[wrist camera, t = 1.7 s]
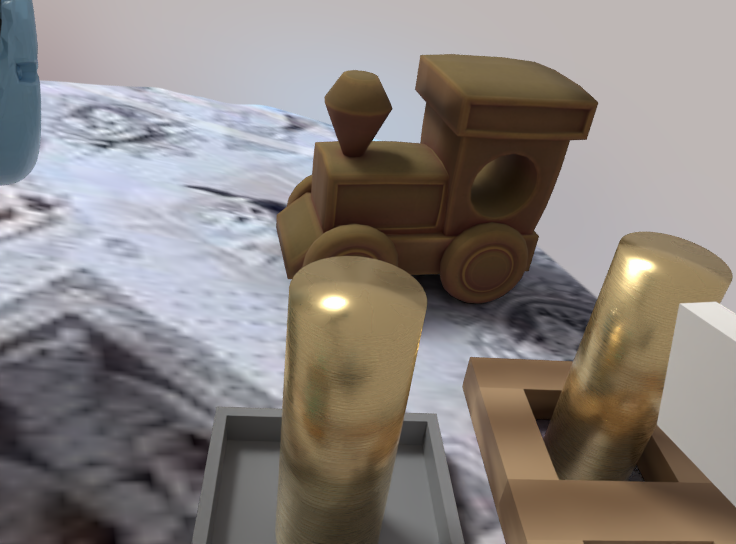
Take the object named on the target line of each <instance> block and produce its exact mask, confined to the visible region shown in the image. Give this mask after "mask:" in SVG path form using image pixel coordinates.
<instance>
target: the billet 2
mask: <svg viewBox="0 0 736 544" xmlns="http://www.w3.org/2000/svg"><path fill="white" fill-rule="evenodd" d="M731 281H732V272H731V270H730V268H729V267H728V266H727V264H726V263H725V262H724V261H723V260H722V259H720V258H719V257H718V256H717V255H715V254H714V253H712V252H710V251H709V250H707V249H705V248H703V247H701V246H699V245H697V244H695V243H693V242H690V241H688V240H685V239H682V238H679V237H675V236H672V235H667V234H662V233H655V232H635V233H630V234H627V235H625V236H624V237H622V239H621V240H620V242H619V245H618V247H617V250H616V252H615V255H614V258H613V260H612V263H611V265H610V268H609V270H608V273H607V276H606V278H605V281H604V283H603V286H602V288H601V291H600V294H599V296H598V299H597V301H596V304H595V307H594V309H593V312H592V314H591V317H590V319H589V322H588V325H587V327H586V330H585V332H584V335H583V338H582V340H581V343H580V345H579V348H578V350H577V353H576V356H575V358H574V361H573V363H572V366H571V369H570V371H569V374H568V376H567V379H566V381H565V384H564V387H563V389H562V392H561V394H560V397H559V400H558V402H557V405H556V407H555V410H554V412H553V415H552V418H551V420H550V423H549V425H548V428H547V431H546V433H545V436H544V438H543V441H544V443H545V446H546V448H547V451H548V454H549V456H550V459H551V461H552V464H553V466H554V469H555V472H556V474H557V477H558V479H559V480H585V481H628V480H629V478H630V476H631V474H632V472H633V470H634V468H635V466H636V464H637V462H638V460H639V458H640V457H641V455H642V453H643V451H644V449H645V447H646V445H647V443H648V441H649V439H650V437H651V435H652V433H653V431H654V430H655V428H656V426H657V421H658V415H659V410H660V405H661V399H662V394H663V389H664V383H665V378H666V373H667V367H668V362H669V357H670V351H671V346H672V341H673V335H674V330H675V325H676V319H677V314H678V309H679V304H680V303H701V302H717V303H719V304H720V302H721V300H722V299H723V297H724V294H725V293H726V291H727V289H728V287H729V285H730V283H731Z"/></svg>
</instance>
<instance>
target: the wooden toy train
mask: <svg viewBox="0 0 736 544" xmlns="http://www.w3.org/2000/svg"><path fill="white" fill-rule="evenodd" d="M415 90H416V91H417V92H418V93H419V94H420V96H421V97H422V98H423V99H424V100H425V101H426V107H425V113H424V119H423V126H422V134H421V142H420V144H419V143H407V142H393V141H390V142H389V141H372V140H373V139H374V137H375V135H376V134H377V132H378V131H379V129H380V128H381V126H382V124H383V123H384V121H385V120H386V118H387V117H388V115H389V113H390V112H391V110H392V106H391V103H390V101H389V99H388V97H387V95H386V92H385V90H384V88H383V86H382V84H381V82H380V80H379V78H378V76H377V75H375V74H373V73H370V72H366V71H358V70H352V71H346V72H344V73H343V74H342V75H341V76H340V78H339V79H338V80H337V81H336V83H335V84H334V85H333V87H332V88H331V89H330V91H329V92H328V93H327V94H326V96H325V104H326V107H327V110H328V113H329V116H330V119H331V121H332V124H333V127H334V130H335V133H336V136H337V138H338V141H334V142H315V149H314V158H313V171H312V175H310V176H308V177H306V178H305V179H304V180H303V181H302V182H300V183H299V184H298V185H297V186H296V187H295V189H294V190H293V192H292V193H291V195H290V197H289V199H288V204H287V207H286V208H285V209H284V210H282V211H281V212H280V213H279V214H277V223H276V228H277V233H278V237H279V242H280V246H281V251H282V255H283V260H284V264H285V269H286V273H287V278H288V279H292V278H293V277H294V276H295V274H296V273H297V272H298V271H299V270H300V269H302V268H303V267H305V266H306V265H308V264H310V263H312V262H315V261H318V260H321V259H325V258H330V257H338V256H359V257H367V258H372V259H376V260H380V261H384V262H387V263H389V264H392V265H394V266H396V267H398V268H400V269H402V270H404V271H406V272H407V273H409V274H410V275H425V274H440V279H441V282H442V285H443V287H444V289H445V290H446V291H447V292H448V293H449V294H450V295H451V296H452V297H454V298H456V299H459V300H461V301H463V302H466V303H475V304H479V303H485V302H490V301H493V300H495V299H497V298H499V297H502V296H503V295H505V294H506V293H507V292H509V291H510V290H511V289H513V288H514V287H515V285H516V284H517V283H518V282H519V281H520V279H521V278H522V276H523V274H524V272H525V271H529V268H530V264H531V261H532V258H533V255H534V251H535V248H536V245H537V241H538V238H539V236H538V235H537V234H536V232H535V231H534V229H535V227H536V225H537V223H538V222H539V220H540V218H541V216H542V214H543V212H544V210H545V208H546V206H547V203H548V201H549V199H550V196H551V194H552V191H553V189H554V186H555V184H556V181H557V178H558V175H559V172H560V170H561V167H562V164H563V161H564V158H565V155H566V151H567V148H568V145H569V142H570V140H586V139H587V136H588V133H589V130H590V127H591V124H592V121H593V118H594V115H595V112H596V108H597V105H598V102H597V101H596V100H595V99H594V98H593V97H592V96H591V95H590V94H589V93H587V92H586V91H585V90H584V89H583V88H582V87H581V86H579V85H578V84H576V83H575V82H573V81H571V80H570V79H568V78H567V77H565V76H563V75H562V74H560V73H559V72H557V71H556V70H553V69H551V68H548V67H546V66H544V65H541V64H539V63H536V62H531V61H524V60H517V59H510V58H502V57H487V56H471V55H455V54H445V55H421V56H420V62H419V68H418V75H417V81H416V87H415Z"/></svg>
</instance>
